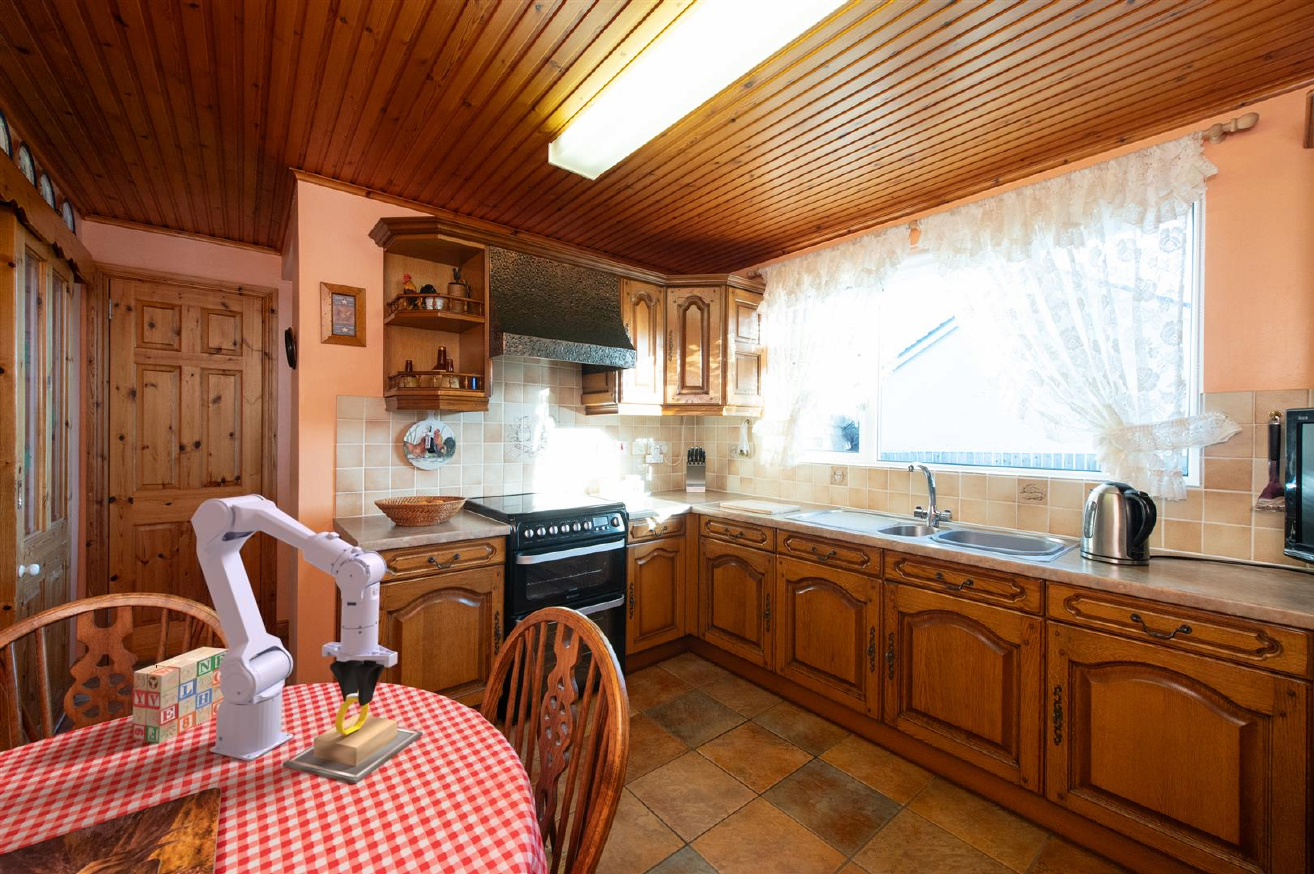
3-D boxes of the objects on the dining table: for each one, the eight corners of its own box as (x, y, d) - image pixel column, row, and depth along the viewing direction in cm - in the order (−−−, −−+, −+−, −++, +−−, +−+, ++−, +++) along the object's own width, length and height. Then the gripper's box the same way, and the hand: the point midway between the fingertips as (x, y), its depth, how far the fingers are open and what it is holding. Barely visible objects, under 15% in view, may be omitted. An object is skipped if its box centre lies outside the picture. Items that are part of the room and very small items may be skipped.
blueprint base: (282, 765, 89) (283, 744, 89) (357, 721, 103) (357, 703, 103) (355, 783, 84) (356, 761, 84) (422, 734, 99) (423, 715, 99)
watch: (356, 725, 95) (362, 690, 97) (369, 728, 95) (375, 692, 96) (328, 736, 90) (336, 697, 91) (342, 738, 89) (349, 700, 90)
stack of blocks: (245, 687, 116) (246, 630, 117) (269, 690, 115) (270, 633, 115) (130, 740, 95) (132, 670, 96) (158, 744, 94) (160, 674, 94)
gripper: (307, 626, 92) (304, 705, 92) (375, 636, 88) (373, 719, 88) (342, 613, 99) (339, 688, 99) (407, 622, 95) (404, 700, 95)
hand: (357, 701), depth 94 cm, fingers closed on watch, 3 cm apart
